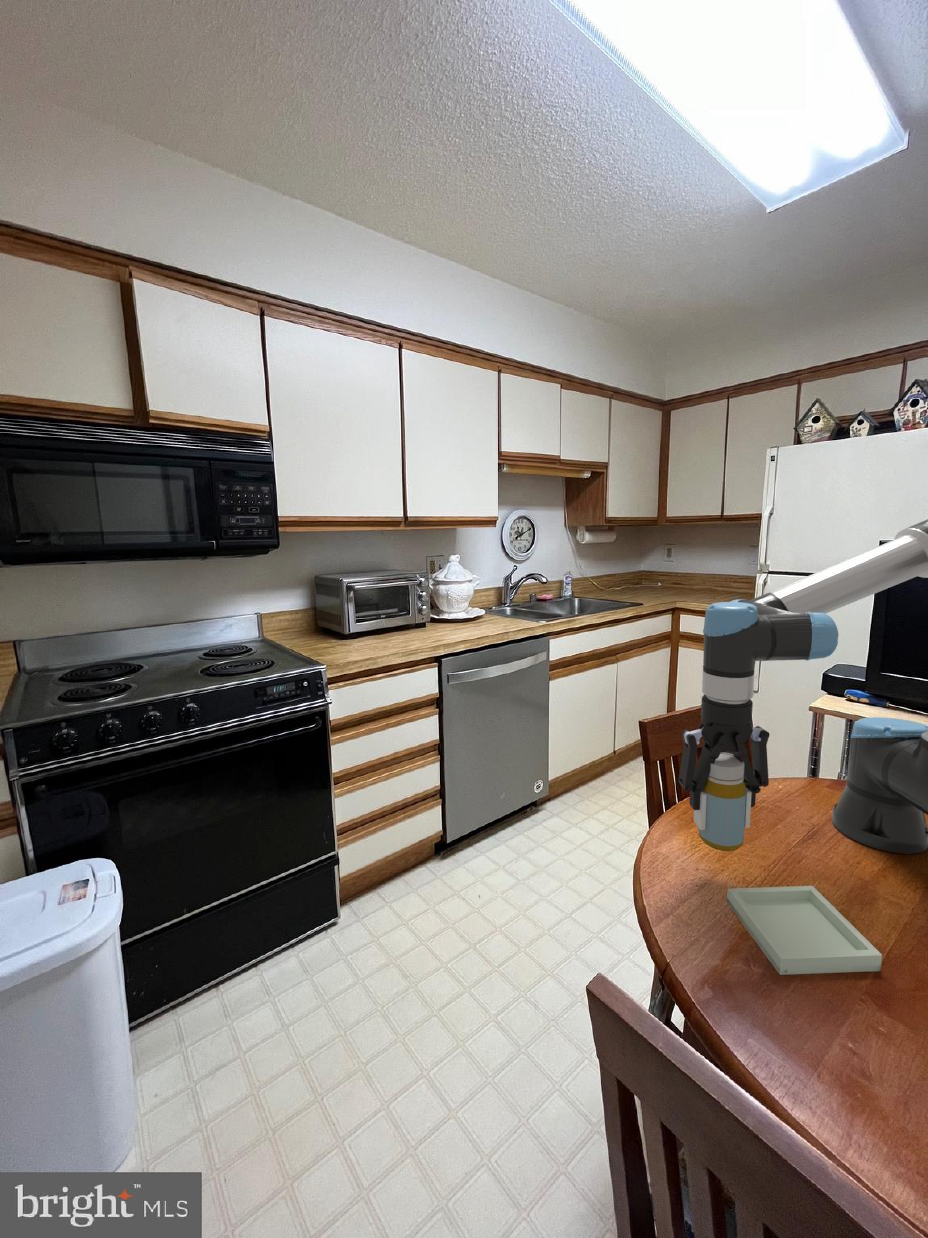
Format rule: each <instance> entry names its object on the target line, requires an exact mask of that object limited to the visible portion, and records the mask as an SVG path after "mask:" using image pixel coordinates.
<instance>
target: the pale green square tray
mask: <svg viewBox="0 0 928 1238" xmlns="http://www.w3.org/2000/svg"><path fill="white" fill-rule="evenodd" d="M726 904H727V905H728V906H729V908H730V909H731V910H732V911H733V913H734V914H735V916H736V917H737V919H738V920H739V921H740V922H741V924H742V925H743V927H744V928H745V929H746V931H747V932H748V933H749V934H750V936H751V937H752V939H753V940H754V941H755V943H756V944H757V946H758V947H759V948H760V950H761V951H762V952H763V954H764V955H765V957H766V958H767V959H768V961H769V962H770V963H771V965H772V966H773V968H774V969H775V970H776V971H777V972H778V974H779V975H780V976H781V975H782V976H784V975H787V976H789V975H809V974H810V975H812V974H834V973H837V974H838V973H862V972H863V973H865V972H880V971H881V968H882V962H883V961H882V960H883V954H882V953H881V952H880V951H879V950H878V949H877V948H876V947H875V946H874V945H872V943H871V942H870V941H869V940H868V939H867V938H866V937H865V936H864V935H863V934H862V933H860V931H859V930H857V928H855V926H854V925H853V924H851V922H850V921H849V920H848V919H847V918H845V916H843V915H842V914H841V913H840V912H839V910H837V909H836V908H835V906H833V904H832V903H830V902H829V900H828V899H826V898H825V896H823V894H821V893H820V892H819V891H818V890H817V889H816V888H815V886H813V885H798V886H797V885H796V886H795V885H793V886H771V887H769V886H768V887H767V886H766V887H741V888H740V887H739V888H727V894H726Z"/></svg>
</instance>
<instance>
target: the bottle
mask: <svg viewBox="0 0 928 1238" xmlns="http://www.w3.org/2000/svg"><path fill="white" fill-rule="evenodd" d="M743 775H744V762H741V761H739V760H738V759H737V758H736V757H734V754H733V753H731V752H730V753H729V752H722V753H720V755H719V757H718V758H717V759H716V760H715V762H714V764H711V772H710V774H709V776H708V779H707V781H706V783H705V786H704V788H703V790H702V791H703V792H704V793H706V794H707V798H706V824H705V830H700V829H699V828H698V836H699V838H700V840H701V841H703V843H704V844H705V845H707V846H709V847H710V848H712V849H715V850H718V851H721V852H731V851H732V852H734V851H737V850H739V849H740V848H741V847H742V846H743V845H744V843H745V842H744V841H745V839H744V838H745V827H744V825H745V802H746V787H745V784H744V781H743V780H744V776H743Z"/></svg>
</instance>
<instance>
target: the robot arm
mask: <svg viewBox="0 0 928 1238" xmlns="http://www.w3.org/2000/svg"><path fill="white" fill-rule="evenodd" d="M916 577H920V578H923V579H925V578H926V579H927V578H928V518H927V519H925V520H923V521H920V522H918V523H916V524H913V525H911V526H909V527H907V528H903V529H901V530H900V531H898V532H897V533H896V535H895V537H894V539H892V540H890V541H888V542H886V543H883V544H880V545H878V546H876V547H873V548H872V549H868V550H867V551H866V550H865V552H864V551H863V552H862V553H860V554H856V555H855V556H852V557H850V558H848V559H845V560H843V561H841V562H837V563H836V564H834V565H831V566H829V567H826V568H823V569H821V570H820V571H817V572H814V573H813V574H809V575H808V576H805V577H803V578H800V579H799V580H796V581H793V582H790V583H789V584H785V585H783V586H782V587H779V588H777V589H774V590H772V591H770V592H766V593H765V594H762V595H759V596H757V597H755V598H752V599H747V598H746V599H745V598H743V599H733V600H731V601H721V602H713V603H711V604H710V605H708V606H707V608H706V609H705V616H704V620H703V621H704V622H703V623H704V625H703V630H702V634H703V658H702V659H703V660H702V661H703V665H702V681H701V683H702V684H701V685H702V686H701V692H702V694H703V695H702V696H701V705H700V706H701V708H700V709H701V710H700V717H701V723H700V724H699V726H698V729H695V730H691V731H689V730H688V729H684V730H682V732H681V735H682V740H683V748H682V755H681V761H680V769H679V773H678V774H679V776H678V783H679V785H681V787H682V788H683V789H684V790H685V791H686V792H689V802H688V803H689V805H690V807H691V808H692V809H693V823H694V824H695V825H696V826H697V828H698V830H699V829H700V830H705V824H706V798H707V794H706V793H704V792H703V791H702V790H703V788H704V786H705V783H706V781H707V779H708V776H709V774H710V772H711V764H714V762H715V760H716V759H717V758H718V757H719V755H720V753H722V752H725V753H727V752H730V753H732V754H733V755H734V757H736V758H737V759H738V760H739V761H741V762H744V775H743V776H744V780H743V781H744V784H745V787H746V802H745V825H744V829H747V828H749V829H750V827H751V811H752V810H751V808H755V805H756V796H757V794H759V793H761V790H762V789H761V787H763V788H764V787H765V788H767V787H768V786H769V783H770V780H769V764H768V750H767V749H768V748H767V745H768V743H769V742H768V741H769V738H770V732H769V731H767V730H766V729H764V728H763V727H761V726H759V725H756V726H754V727H753V726H752V720H753V706H754V705H753V704H754V703H753V700H752V699H753V697H754V691H755V690H754V689H755V688H754V687H755V686H754V685H755V683H754V682H755V668H756V662H767V661H769V662H770V661H775V662H776V661H810V660H818V659H825V658H828V657H830V656H831V655H832V654H833V653H835V651H836V649H837V647H838V644H839V642H838V641H839V631H838V630H839V629H838V625H837V624H836V622H835V621H834V619H833V618H832V617H831V616H830V615H828V614H829V613H831V612H833V611H836V610H839V609H840V608H843V607H845V606H847V605H850V604H852V603H855V602H858V601H860V600H862V599H863V600H864V599H865V598H867V597H870V596H871V595H874V594H877V593H880V592H882V591H884V590H887V589H888V588H892V587H894V586H896V585H897V586H898V585H900V584H901V583H904V582H907V581H909V580H912V579H914V578H916ZM852 727H853V728H852V730H851V735H850V736H849V738H850V745H849V755H848V765H847V776H846V784H845V787H844V789H843V791H842V793H841V794H840V797H839V799H838V802H836V803H835V804H834V806H833V807H832V813H831V822H832V824H833V826H834V827H835V828H836V829H837V830H838V831H839V832H840V833H842V834H843V835H845V836H846V837H848V838H849V839H852V840H854V841H855V842H858V843H860V844H862V845H865V846H867V847H870V848H874V849H877V850H881V851H885V852H888V853H894V854H895V853H896V854H901V855H902V854H903V855H904V854H906V855H911V854H912V855H914V854H920V853H923V852H925V851H927V849H928V827H927V825H928V824H927V821H926V820H927V819H926V817H925V815H926V816H928V725H927V724H923V723H921V722H917V721H913V720H909V719H908V720H907V719H903V718H893V717H881V716H880V717H877V716H876V717H875V716H874V717H872V716H871V717H863V718H859V719H857V721H855V722H854V724H853V726H852ZM701 738H702V739H703V744H702V746H701V752H700V755H699V758H698V760H697V756H698V745H700V742H701V741H700V740H701ZM749 738H750V739H751V740H750V741H751V742H750V743H751V760H752V761H751V762H752V765H751V763H750V759H749V756H748V754H749V753H748V750H747V747H746V741H748V739H749Z"/></svg>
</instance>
